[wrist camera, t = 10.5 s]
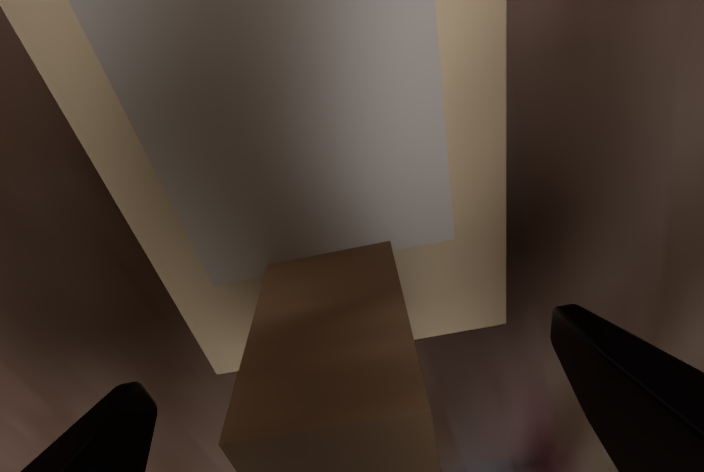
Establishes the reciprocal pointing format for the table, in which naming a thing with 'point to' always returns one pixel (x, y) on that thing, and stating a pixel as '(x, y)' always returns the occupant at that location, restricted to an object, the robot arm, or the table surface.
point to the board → (241, 297)
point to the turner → (299, 203)
